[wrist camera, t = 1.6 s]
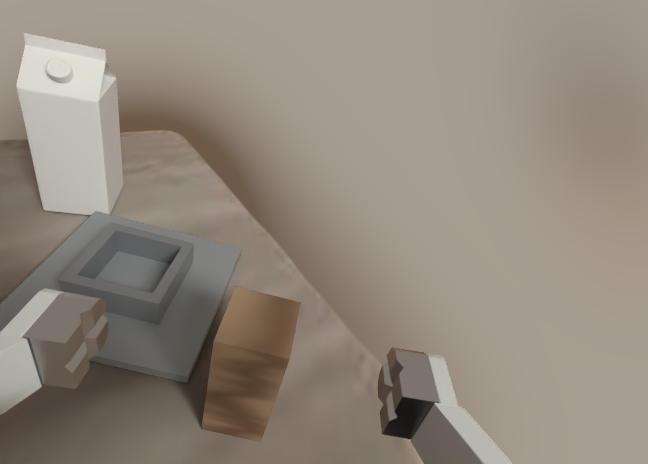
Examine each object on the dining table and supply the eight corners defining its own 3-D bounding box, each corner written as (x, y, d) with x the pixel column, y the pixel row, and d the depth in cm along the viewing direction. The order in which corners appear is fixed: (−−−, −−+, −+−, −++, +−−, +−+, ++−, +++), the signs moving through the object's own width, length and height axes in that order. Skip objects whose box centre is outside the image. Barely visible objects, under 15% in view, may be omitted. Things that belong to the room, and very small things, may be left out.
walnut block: (201, 428, 32) (213, 340, 25) (220, 375, 36) (235, 286, 29) (260, 442, 32) (289, 359, 25) (272, 387, 36) (300, 302, 29)
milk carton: (64, 179, 52) (38, 24, 40) (123, 187, 54) (114, 40, 42) (43, 211, 46) (6, 42, 35) (109, 218, 48) (94, 60, 37)
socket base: (-22, 335, 33) (-36, 304, 31) (96, 217, 48) (93, 190, 45) (187, 383, 35) (189, 357, 32) (240, 254, 49) (245, 230, 47)
